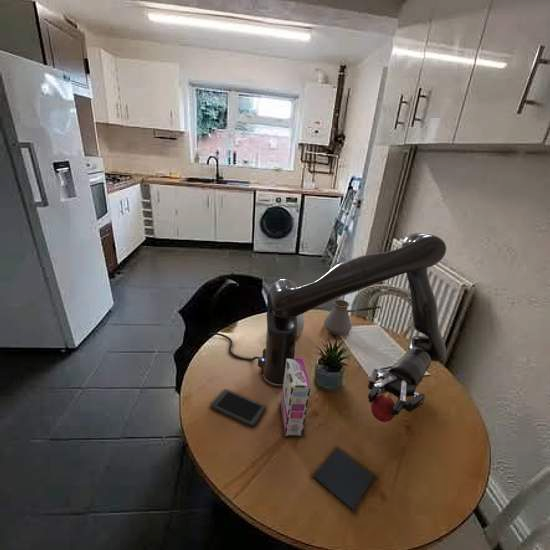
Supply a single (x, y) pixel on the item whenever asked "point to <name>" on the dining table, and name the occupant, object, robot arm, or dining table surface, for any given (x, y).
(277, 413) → the dining table surface
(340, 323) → the coffee pot
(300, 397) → the candy bar box
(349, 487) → the front mat
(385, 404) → the onion
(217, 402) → the cell phone
